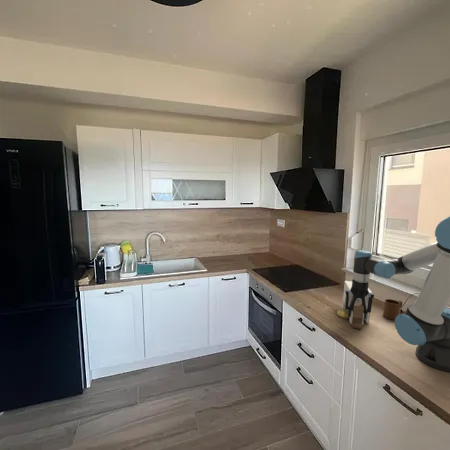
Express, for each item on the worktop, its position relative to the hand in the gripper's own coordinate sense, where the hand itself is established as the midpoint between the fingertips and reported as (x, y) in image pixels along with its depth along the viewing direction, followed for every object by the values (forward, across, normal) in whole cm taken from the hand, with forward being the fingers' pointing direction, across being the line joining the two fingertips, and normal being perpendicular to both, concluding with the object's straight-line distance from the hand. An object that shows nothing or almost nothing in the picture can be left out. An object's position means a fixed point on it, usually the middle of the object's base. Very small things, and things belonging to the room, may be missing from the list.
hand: (356, 323), depth 134 cm
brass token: (+2, +4, -12) cm, 13 cm away
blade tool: (+2, 0, -8) cm, 8 cm away
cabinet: (+2, -2, -15) cm, 15 cm away
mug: (+3, -24, -21) cm, 32 cm away
